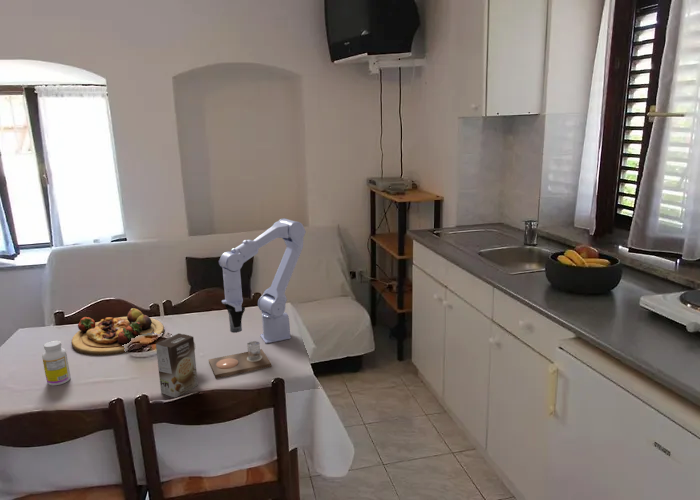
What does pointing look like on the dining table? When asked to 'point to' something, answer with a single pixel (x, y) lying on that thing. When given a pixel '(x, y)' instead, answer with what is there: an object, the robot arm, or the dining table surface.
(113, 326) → the wooden plate with food
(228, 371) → the board
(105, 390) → the dining table surface
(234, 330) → the steel pin
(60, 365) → the supplement bottle
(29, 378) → the dining table surface
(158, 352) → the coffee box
